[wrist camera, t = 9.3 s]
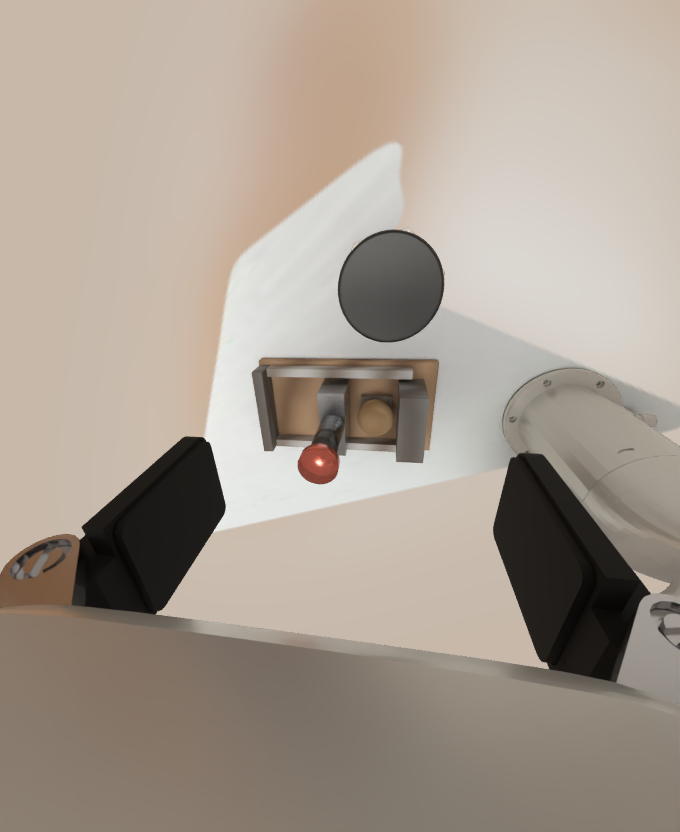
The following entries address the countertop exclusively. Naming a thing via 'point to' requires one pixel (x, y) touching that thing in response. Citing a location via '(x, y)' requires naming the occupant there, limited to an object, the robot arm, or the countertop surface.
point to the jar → (391, 285)
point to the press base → (368, 379)
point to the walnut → (375, 417)
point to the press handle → (328, 433)
